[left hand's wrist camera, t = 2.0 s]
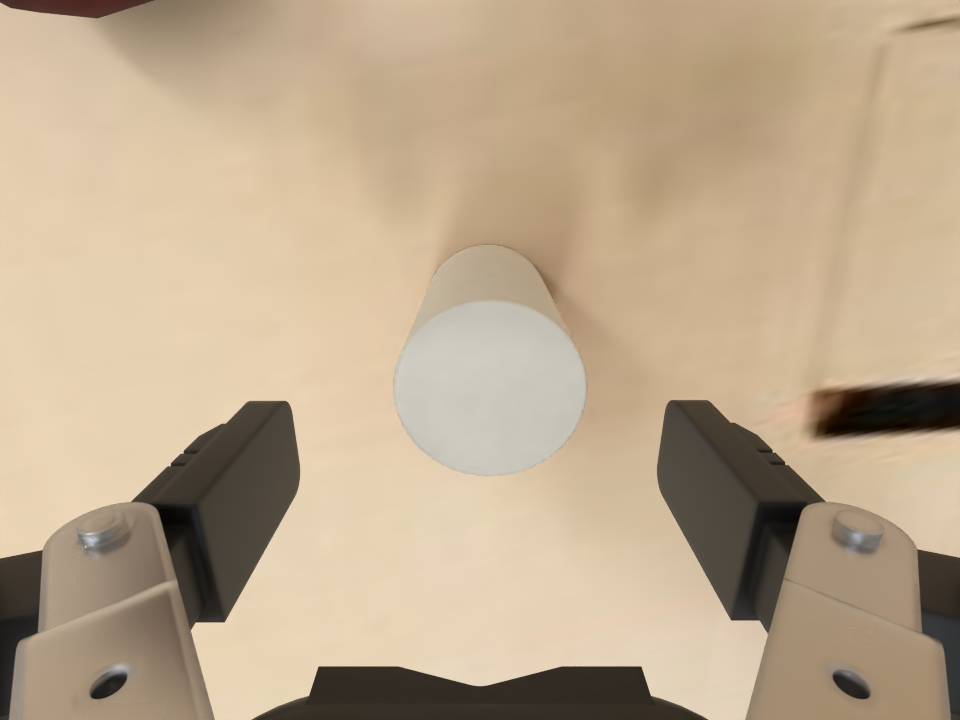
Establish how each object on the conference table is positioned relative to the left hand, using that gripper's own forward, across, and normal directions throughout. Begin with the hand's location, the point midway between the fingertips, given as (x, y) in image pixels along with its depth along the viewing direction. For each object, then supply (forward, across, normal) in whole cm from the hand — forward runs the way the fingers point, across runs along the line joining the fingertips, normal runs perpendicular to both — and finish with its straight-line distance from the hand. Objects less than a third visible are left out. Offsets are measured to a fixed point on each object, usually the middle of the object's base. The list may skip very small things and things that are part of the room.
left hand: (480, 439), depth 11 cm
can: (+10, 0, 0) cm, 11 cm away
